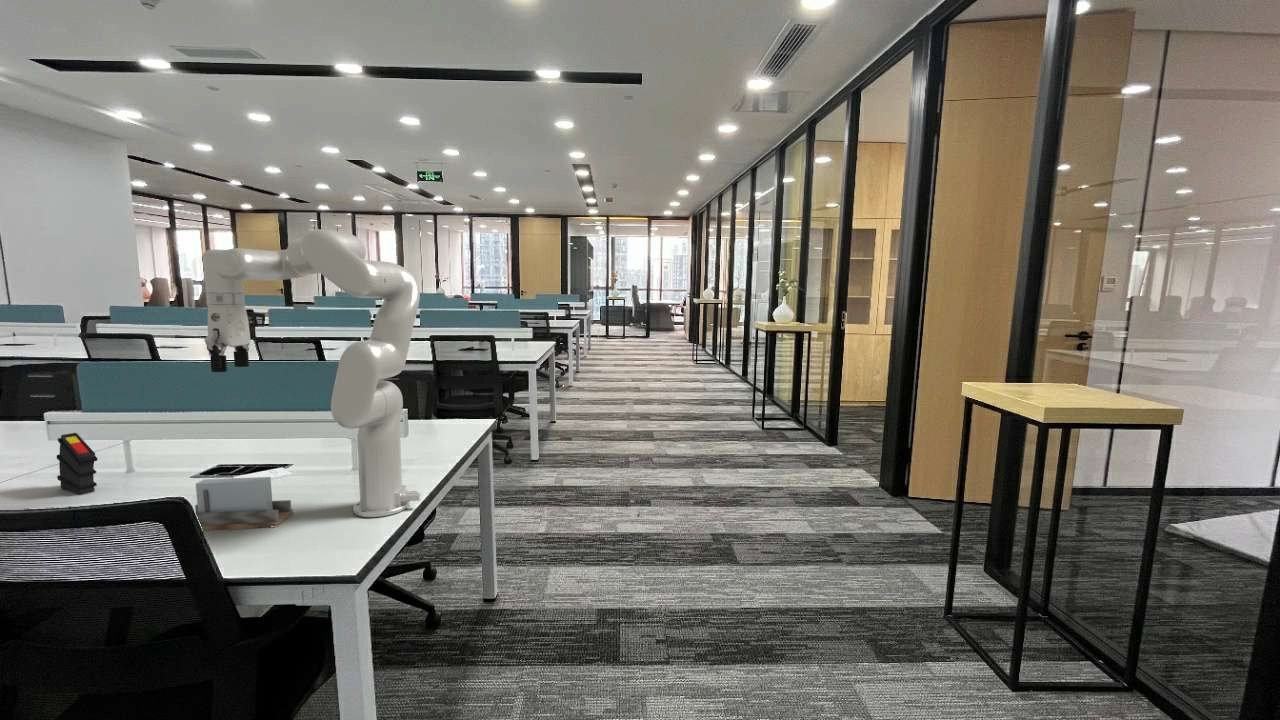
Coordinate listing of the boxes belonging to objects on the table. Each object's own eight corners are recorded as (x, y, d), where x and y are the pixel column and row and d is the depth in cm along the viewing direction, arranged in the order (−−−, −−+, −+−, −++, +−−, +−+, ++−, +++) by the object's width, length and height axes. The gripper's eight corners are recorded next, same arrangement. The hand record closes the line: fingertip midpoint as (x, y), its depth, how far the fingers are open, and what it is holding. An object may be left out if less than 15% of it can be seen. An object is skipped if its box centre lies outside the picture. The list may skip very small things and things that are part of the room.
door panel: (273, 514, 131) (270, 476, 130) (265, 519, 127) (263, 481, 126) (207, 517, 129) (203, 479, 127) (197, 523, 125) (194, 484, 124)
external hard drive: (232, 482, 157) (282, 471, 166) (240, 489, 152) (292, 477, 161) (231, 476, 157) (281, 466, 166) (240, 483, 151) (291, 472, 161)
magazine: (71, 477, 153) (77, 431, 149) (94, 504, 149) (101, 458, 144) (52, 481, 150) (58, 434, 145) (75, 509, 145) (82, 462, 141)
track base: (292, 513, 134) (291, 499, 133) (276, 527, 126) (275, 512, 125) (200, 517, 131) (199, 503, 130) (177, 531, 123) (176, 516, 123)
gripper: (221, 301, 130) (227, 373, 132) (260, 300, 147) (265, 364, 149) (186, 300, 129) (192, 374, 131) (229, 300, 146) (234, 365, 148)
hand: (231, 369), depth 140 cm, fingers open, 9 cm apart
